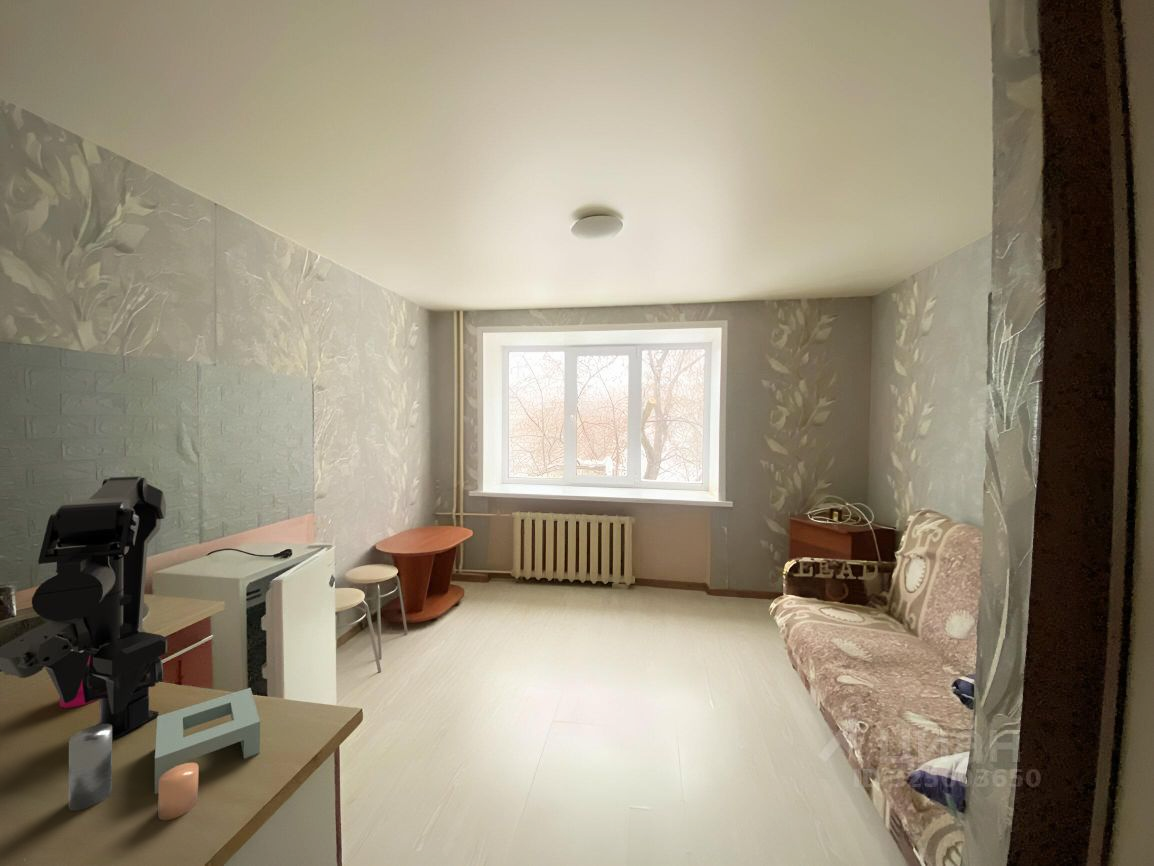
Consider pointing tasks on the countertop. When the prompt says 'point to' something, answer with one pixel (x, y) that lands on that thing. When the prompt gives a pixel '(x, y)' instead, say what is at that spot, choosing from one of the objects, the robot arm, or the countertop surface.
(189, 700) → the countertop surface
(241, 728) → the slate pin jig
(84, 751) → the steel pin
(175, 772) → the terracotta stub
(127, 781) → the countertop surface
